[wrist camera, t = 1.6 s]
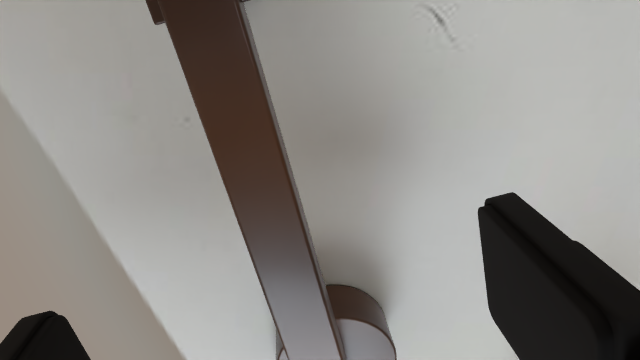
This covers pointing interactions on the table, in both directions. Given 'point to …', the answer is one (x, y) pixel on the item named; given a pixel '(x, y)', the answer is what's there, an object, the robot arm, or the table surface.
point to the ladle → (266, 186)
